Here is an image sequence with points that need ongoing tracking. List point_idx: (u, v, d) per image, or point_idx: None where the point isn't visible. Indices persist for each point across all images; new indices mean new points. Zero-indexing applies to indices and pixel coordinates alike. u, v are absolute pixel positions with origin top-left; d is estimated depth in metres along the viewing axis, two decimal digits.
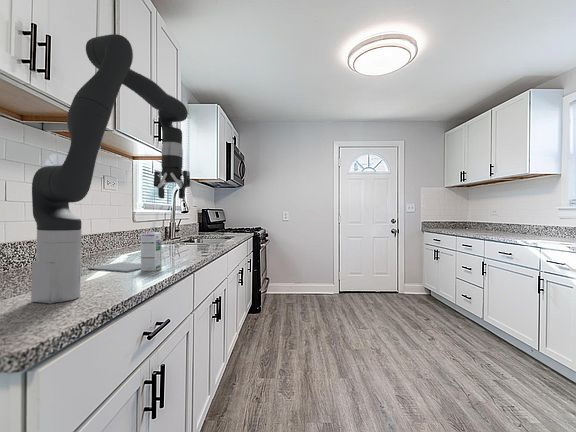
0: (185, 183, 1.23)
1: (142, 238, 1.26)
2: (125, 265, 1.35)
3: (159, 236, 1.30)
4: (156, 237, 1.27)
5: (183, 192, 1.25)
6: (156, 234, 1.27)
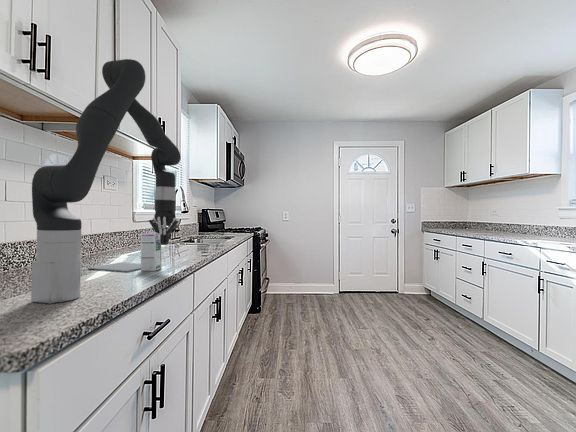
0: (169, 230, 1.25)
1: (142, 238, 1.26)
2: (125, 265, 1.35)
3: (159, 236, 1.30)
4: (155, 237, 1.27)
5: (167, 238, 1.27)
6: (156, 234, 1.27)
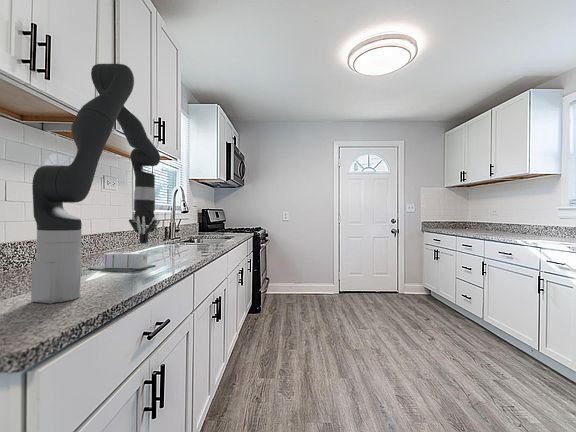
0: (148, 229, 1.28)
1: (108, 266, 1.26)
2: None
3: (113, 252, 1.30)
4: (109, 253, 1.27)
5: (146, 237, 1.29)
6: (107, 253, 1.28)
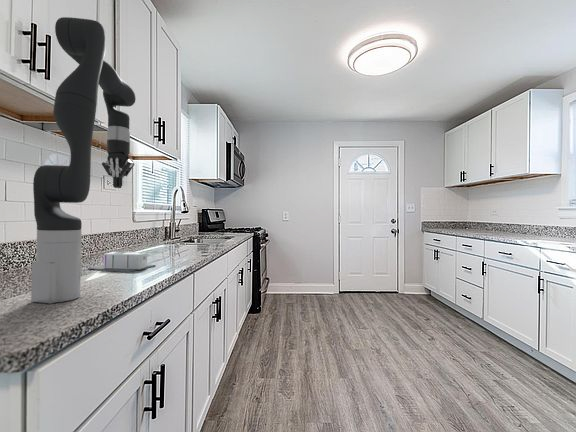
0: (121, 172, 1.20)
1: (108, 266, 1.26)
2: None
3: (112, 252, 1.30)
4: (108, 253, 1.27)
5: (120, 181, 1.22)
6: (106, 253, 1.27)
